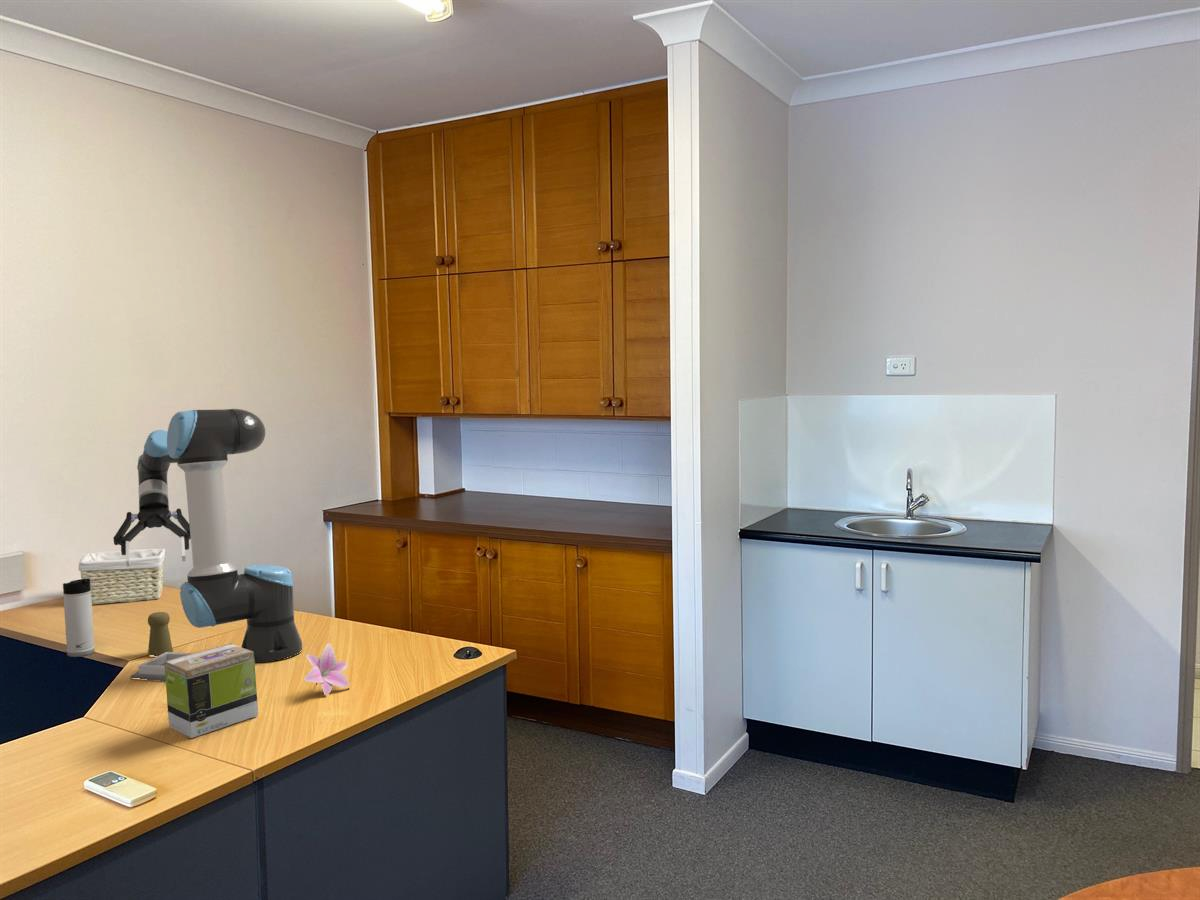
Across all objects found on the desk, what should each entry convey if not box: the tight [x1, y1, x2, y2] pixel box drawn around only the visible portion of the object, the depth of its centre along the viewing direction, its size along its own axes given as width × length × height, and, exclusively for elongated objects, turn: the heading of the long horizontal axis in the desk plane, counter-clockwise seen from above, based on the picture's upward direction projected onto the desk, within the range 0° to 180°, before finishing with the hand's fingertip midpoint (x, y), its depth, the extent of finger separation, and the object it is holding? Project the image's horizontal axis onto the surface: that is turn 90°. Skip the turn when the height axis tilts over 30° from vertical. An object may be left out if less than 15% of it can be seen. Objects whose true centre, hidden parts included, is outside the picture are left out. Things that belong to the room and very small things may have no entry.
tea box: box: [165, 642, 259, 739], centre depth 188 cm, size 15×10×15 cm, turn 141°
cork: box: [147, 611, 174, 656], centre depth 233 cm, size 6×6×11 cm
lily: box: [303, 642, 351, 695], centre depth 207 cm, size 12×12×10 cm
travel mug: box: [62, 578, 96, 658], centre depth 233 cm, size 6×7×20 cm
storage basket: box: [77, 548, 166, 606], centre depth 290 cm, size 24×16×15 cm
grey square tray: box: [130, 651, 193, 682], centre depth 220 cm, size 13×13×3 cm
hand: (156, 561), depth 241 cm, fingers open, 13 cm apart
